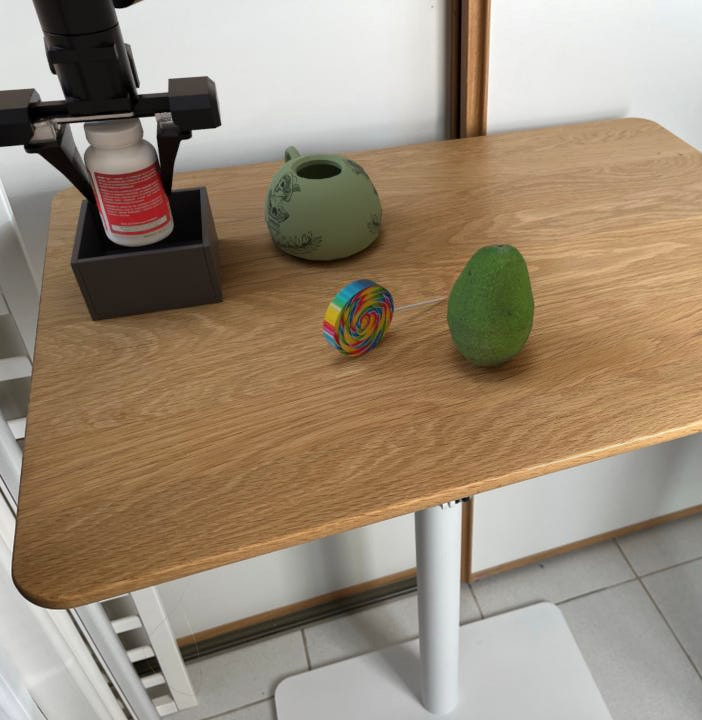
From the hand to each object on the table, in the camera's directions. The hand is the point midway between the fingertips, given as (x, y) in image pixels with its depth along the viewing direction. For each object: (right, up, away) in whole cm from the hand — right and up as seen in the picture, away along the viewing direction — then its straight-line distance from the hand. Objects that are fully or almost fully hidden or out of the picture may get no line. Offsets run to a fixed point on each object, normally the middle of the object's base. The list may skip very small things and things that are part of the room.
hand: (132, 198), depth 70 cm
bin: (-1, -7, +8) cm, 10 cm away
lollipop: (+24, -13, +2) cm, 27 cm away
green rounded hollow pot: (+15, -1, +16) cm, 21 cm away
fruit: (+34, -15, 0) cm, 37 cm away
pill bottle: (0, -3, +3) cm, 4 cm away
